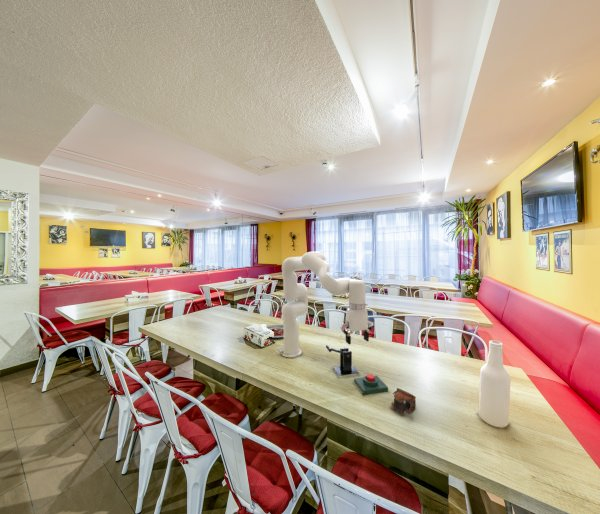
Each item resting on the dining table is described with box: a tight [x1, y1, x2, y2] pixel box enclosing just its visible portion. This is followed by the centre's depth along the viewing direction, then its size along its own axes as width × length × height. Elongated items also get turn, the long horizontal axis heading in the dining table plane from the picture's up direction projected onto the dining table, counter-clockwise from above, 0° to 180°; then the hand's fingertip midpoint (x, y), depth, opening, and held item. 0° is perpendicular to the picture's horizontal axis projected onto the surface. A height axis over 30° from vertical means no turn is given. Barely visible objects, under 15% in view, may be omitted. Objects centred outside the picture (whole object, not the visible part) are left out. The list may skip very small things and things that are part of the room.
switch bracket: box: [332, 347, 360, 377], centre depth 125 cm, size 11×9×12 cm
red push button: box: [366, 373, 376, 382], centre depth 112 cm, size 4×4×2 cm
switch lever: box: [325, 344, 346, 355], centre depth 124 cm, size 12×5×2 cm, turn 103°
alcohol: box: [478, 339, 511, 428], centre depth 90 cm, size 9×9×30 cm
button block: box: [353, 374, 389, 396], centre depth 112 cm, size 12×10×4 cm
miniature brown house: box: [390, 387, 417, 416], centre depth 96 cm, size 12×10×8 cm
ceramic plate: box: [266, 324, 284, 338], centre depth 181 cm, size 26×26×3 cm
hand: (357, 341), depth 114 cm, fingers open, 9 cm apart
